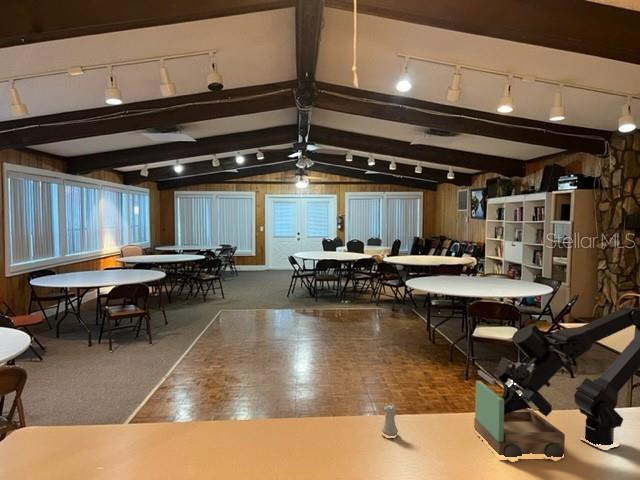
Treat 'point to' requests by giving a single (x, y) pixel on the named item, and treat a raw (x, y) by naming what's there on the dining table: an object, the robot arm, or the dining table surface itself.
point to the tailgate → (489, 408)
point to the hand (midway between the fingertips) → (497, 413)
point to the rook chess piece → (389, 421)
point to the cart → (525, 435)
